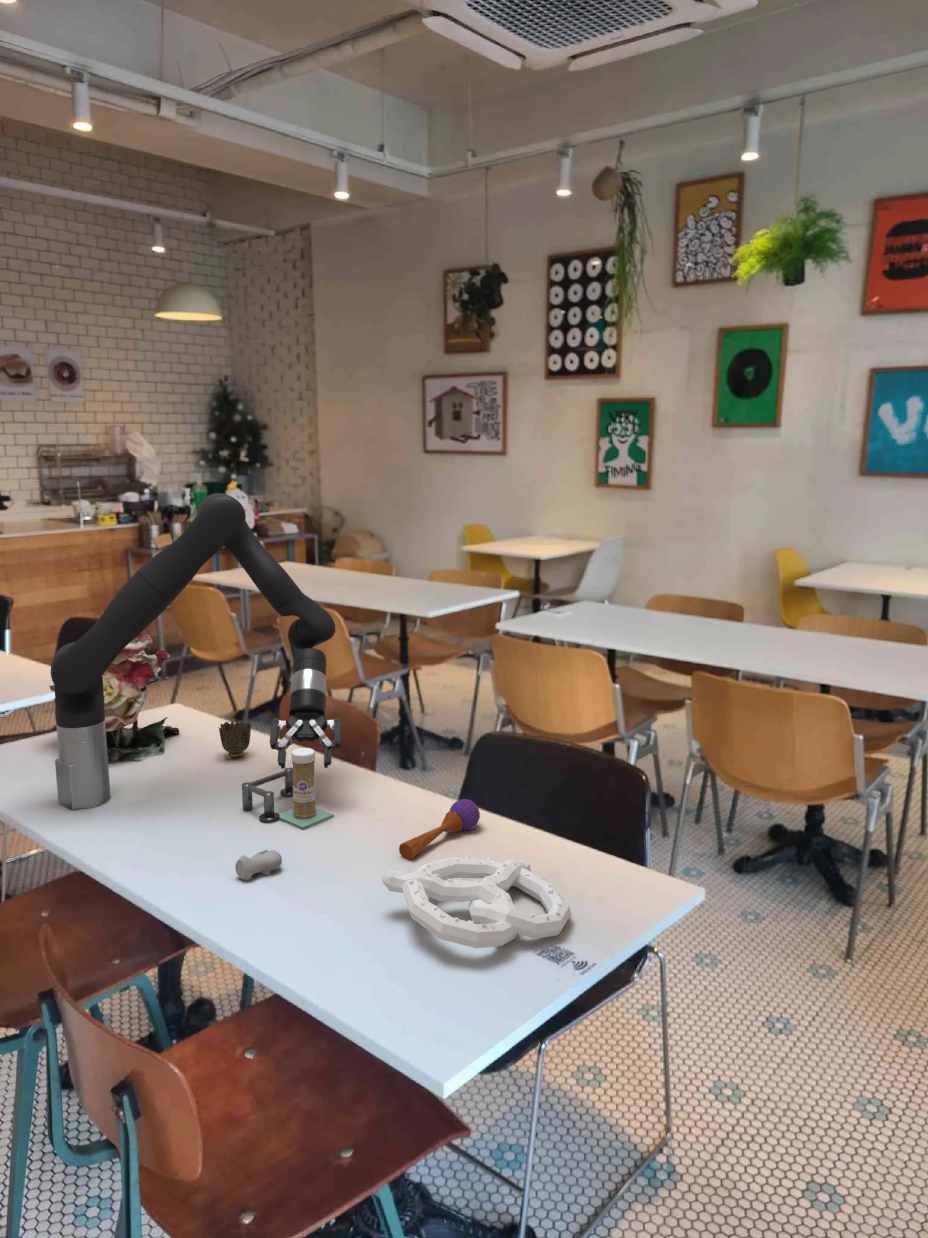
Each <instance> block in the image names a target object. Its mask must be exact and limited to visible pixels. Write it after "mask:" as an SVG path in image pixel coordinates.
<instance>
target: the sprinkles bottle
mask: <svg viewBox="0 0 928 1238" xmlns="http://www.w3.org/2000/svg"><path fill="white" fill-rule="evenodd" d="M315 760H316V752H315V749H313V748H311V747H300V748H299V747H298V748H295V749H293V750H292V751H291V763H292V768H293V797H292V799H293V809H294V812H293V814H294V816H295V817H297V818H310V817H312V816H314V815H315V814H316V810H315V807H316V775H315Z"/></svg>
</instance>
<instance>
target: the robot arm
mask: <svg viewBox="0 0 928 1238" xmlns="http://www.w3.org/2000/svg"><path fill="white" fill-rule="evenodd" d="M246 518H247V516H246V511H245V508H244V506H243V505H242V503H241V502H240V501H239V500H238V499H236V498H235V497H233V496H231V495H230V494H226V493H221V492H219V493H218V492H217V493H211V494H209V495H207V496H206V497H204V498H203V499H202V500H201V502H200V503H199V505H198V508H197V514H196V516H195V517H194V518H193V519H192V521H191V522H190V524H189V525H188V526H187V527H186V528H185V529H184V531H183V532H182V533H181V534H180V535H179V536H178V537H177V538H176V539H175V540H174V541H173V542H172V543H171V544H169V545H168V546H166V547H165V548H163V549H162V550H160V551H159V552H158V553H156V554H155V555H154V556H152V557H151V558H149V560H147V561H146V562H145V563H144V564H143V565H142V566H141V567H139V568H138V569H137V571H135V572H134V574H133V575H132V576H131V577H130V578H129V579H127V581H126V582H125V583H124V584H123V585H122V586H121V587H120V589H119V590H118V591H117V593H116V594H115V595H114V597H112V600H111V601H110V602H109V603H108V605H107V606H106V608H105V609H104V611H103V612H102V614H101V615H100V617H99V618H98V620H97V621H95V623H94V625H92V627H91V628H90V629H88V631H87V632H86V633H84V634H83V635H82V636H81V637H80V638H79V639H78V640H77V641H73V642H69V643H66V644H64V645H63V646H61V647H60V648H59V649H58V650H56V653H55V654H54V656H53V659H52V662H51V665H50V677H51V681H52V683H53V684H54V688H55V692H54V699H55V703H54V704H55V705H54V709H55V710H54V714H55V715H54V716H55V726H56V737H57V749H58V751H57V752H58V758H56V759H55V760H54V765H55V776H56V789H57V801H58V804H60V805H62V806H64V807H65V808H66V809H67V808H68V809H70V810H71V811H75V810H79V809H88V808H89V809H90V808H94V807H97V806H100V805H103V804H105V803H107V802H108V801H109V800H110V799H111V796H112V795H111V784H110V781H111V780H110V768H109V764H108V753H107V749H108V748H107V740H106V725H105V709H104V691H103V674H104V672H105V671H106V670H107V668H108V667H109V666H110V664H111V663H112V662H113V661H114V659H115V658H116V657H117V656H118V654H119V653H120V652H121V651H122V650H123V649H124V648H125V647H126V646H127V645H128V644H129V643H130V642H131V641H132V640H133V639H135V638H136V637H137V636H138V635H139V634H142V633H143V631H145V629H147V628H148V627H149V626H150V625H151V624H152V623H153V622H154V621H156V619H157V618H159V616H160V615H162V613H163V612H164V611H165V610H166V609H167V608H168V607H169V606H170V605H171V604H172V603H173V602H174V601H175V599H176V598H177V597H178V596H179V595H180V594H181V593H182V592H183V590H184V589H185V588H186V587H187V586H188V585H189V583H190V582H191V581H192V580H193V579H194V577H196V575H197V574H198V572H199V571H200V570H201V569H202V567H203V566H204V565H205V564H206V563H207V562H208V561H209V560H210V559H212V557H214V556H215V554H217V553H218V552H219V551H220V550H221V549H223V547H225V549H226V550H227V551H228V552H229V553H230V554H231V555H232V556H233V557H234V559H235V560H236V561H237V563H239V565H240V566H241V567H242V568H243V570H244V571H245V572H246V574H247V575H248V577H249V578H250V579H251V581H252V583H253V584H254V585H255V586H256V588H257V589H258V591H259V592H260V593H261V595H262V596H263V598H264V599H265V600H266V601H267V602H268V603H269V605H270V606H271V607H272V608H273V610H274V611H275V612H276V613H277V615H279V616H280V617H293V616H295V617H298V618H297V619H296V620H294V621H293V622H292V623H291V624H290V626H289V628H288V631H287V638H288V643H289V647H290V653H291V656H292V660H293V664H292V666H293V667H292V676H291V677H292V678H291V683H290V692H289V704H288V705H289V706H288V707H289V708H288V709H289V710H288V717H287V719H286V720H280V719H279V718H277V717H274V718H273V719H272V721H271V730H270V734H269V735H270V737H269V746H270V749H272V750H276V751H277V764H278V766H279V767H280V768H281V770H282V769H283V770H285V769H286V761H287V751H286V750H288V749H289V747H290V746H292V745H293V744H294V743H295V742H296V741H298V742H305V741H306V742H314V741H315V740H317V742H319V744H320V745H321V746H323V748H324V751H323V757H324V758H323V767H324V769H328V768H329V766H331V765H332V758H333V757H332V755H333V750H336V749H337V750H338V749H341V748H342V735H341V730H342V727H341V719H340V717H337V716H336V717H334V719H327V717H326V713H327V712H326V710H327V708H326V707H327V696H328V693H327V678H326V676H327V657H326V653H324V651H322V650H321V649H318V648H314V647H317V646H319V645H320V644H322V643H325V642H327V641H329V640H330V639H332V638H333V637H334V635H335V634H336V624H335V621H334V619H333V617H332V616H331V614H330V613H329V612H328V611H327V610H326V609H325V608H323V607H322V606H321V605H319V604H318V603H317V602H316V601H314V600H313V599H312V598H311V597H309V596H307V595H306V594H305V593H304V592H303V591H302V590H301V588H299V586H298V585H297V583H296V582H295V581H294V580H293V578H292V577H291V576H290V575H289V573H287V571H286V569H284V568H283V566H282V565H281V564H280V563H279V562H278V561H277V560H276V559H275V558H274V557H273V555H271V553H270V552H269V551H268V550H267V549H266V548H265V547H264V545H263V544H262V543H261V542H260V541H259V539H258V538H257V536H256V535H255V534H254V532H253V531H252V529H251V527H250V526H249V524H248V523H247V519H246ZM285 727H286V729H287V730H288V731H287V732H286V733H285V735H284V736H283V738H282V739H281V740H280V741H279V740H278V739H279V736H280V735H279V734H280V733H279V732H282V731H283V729H284V728H285ZM328 727H329V728H330V730H331V731H333V732H334V740H330V739H329V737H328V736H327V735H326V733H325V731H326V729H327V728H328Z"/></svg>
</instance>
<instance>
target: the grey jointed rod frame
mask: <svg viewBox="0 0 928 1238" xmlns="http://www.w3.org/2000/svg"><path fill="white" fill-rule="evenodd" d="M280 778H284V788H282V789H281V790H280V796H281V797H283V798H293V767H285V769H283V770H282V771H279V772H276V773H272V774H270V775H267V776H265V777H261V778H259V779H256V780H253V781H249V782H247V781H246V782H243V783H241V796H242V797H241V799H242V800H241V801H242V812H252V811H253V809H254V805H253V801H254V800H253V794H256V795H258V796H260V797H263V813H261V814H260V815H259V817H258V819H259V822H261V823H262V824H273V823H277V822H279V821H280V820H279V816H280V814H279V813H278V812H275V792H274V791H272V790H265V789H263V788H260V787H259V786H261V785H264V784H267V783H269V782H272V781H276V780H278V779H280Z"/></svg>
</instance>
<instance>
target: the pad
mask: <svg viewBox="0 0 928 1238" xmlns="http://www.w3.org/2000/svg"><path fill="white" fill-rule="evenodd" d="M315 810H316V814H315V815H314V816H312V817H310V818H297V817H295V816H294V814H293V812H294V808H293V809H290V810H288V811H285V812H283V813H280V814H279V815H280V816H279V820H278V821H280V822H283V823H286V824H288V825H291V826H293V827H295V828H297V829H299V830H303V831H304V830H306V829H309V828H312V827H313V826H316V825H318V824H321V823H322V822H323V823H324V822H325V821H328V820H331V819H333V818H334V817H335V814H334V813H332V812H329V811H327V810H324V809H322V808H320V807H316V806H315Z"/></svg>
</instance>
